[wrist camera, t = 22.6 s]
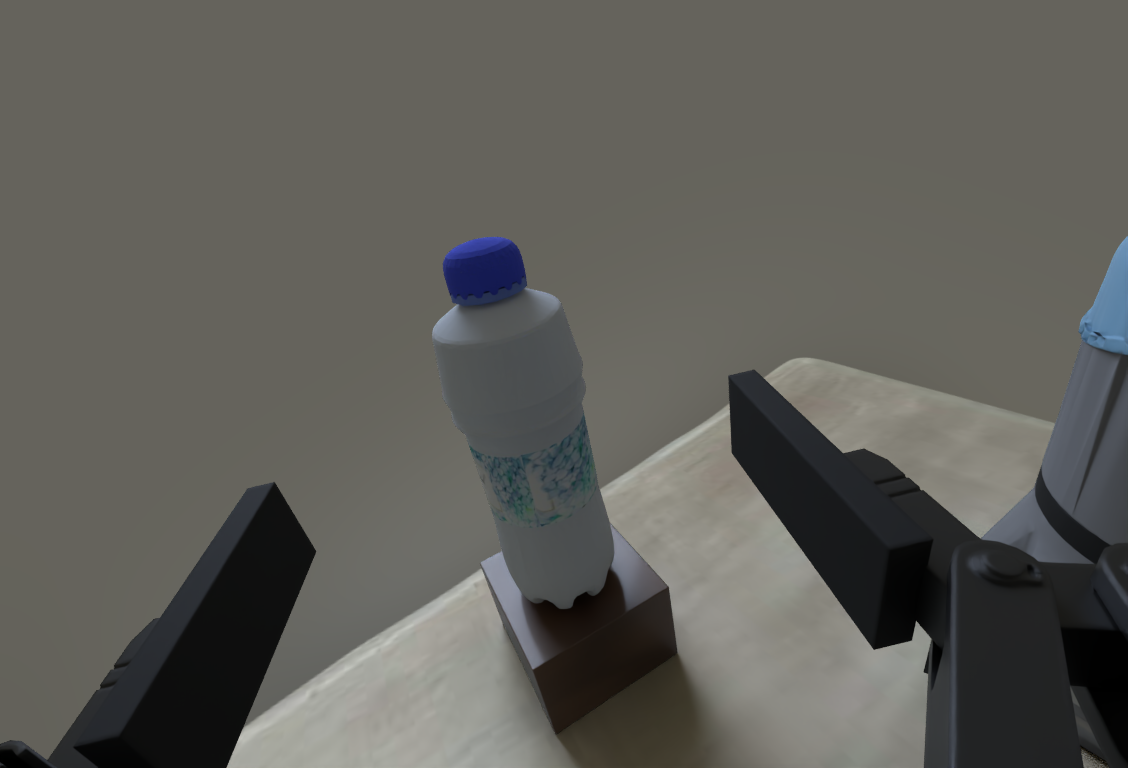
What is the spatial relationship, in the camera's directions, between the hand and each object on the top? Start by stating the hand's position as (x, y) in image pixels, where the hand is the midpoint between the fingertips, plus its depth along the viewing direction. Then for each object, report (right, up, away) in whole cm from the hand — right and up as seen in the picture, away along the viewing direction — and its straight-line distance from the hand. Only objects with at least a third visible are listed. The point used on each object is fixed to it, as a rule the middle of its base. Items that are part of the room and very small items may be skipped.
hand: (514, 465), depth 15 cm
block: (+3, -14, +18) cm, 23 cm away
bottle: (+2, -9, +16) cm, 18 cm away
